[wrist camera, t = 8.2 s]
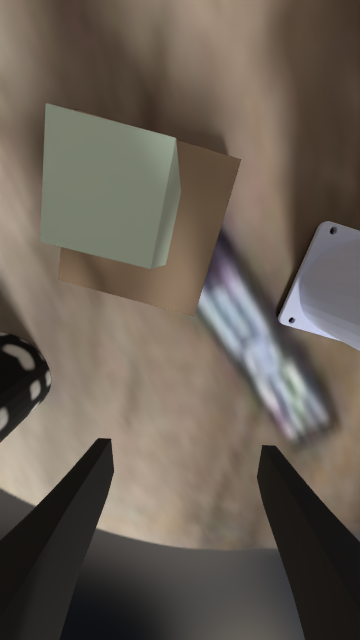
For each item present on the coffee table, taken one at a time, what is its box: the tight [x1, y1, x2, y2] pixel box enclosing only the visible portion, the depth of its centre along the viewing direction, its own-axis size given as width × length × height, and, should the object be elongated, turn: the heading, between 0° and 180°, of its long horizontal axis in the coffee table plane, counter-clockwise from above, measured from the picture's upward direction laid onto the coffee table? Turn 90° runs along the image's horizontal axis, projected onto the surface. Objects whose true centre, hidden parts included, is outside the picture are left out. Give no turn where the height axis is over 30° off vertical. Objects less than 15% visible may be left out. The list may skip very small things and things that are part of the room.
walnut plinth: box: [58, 109, 241, 316], centre depth 15 cm, size 10×10×3 cm
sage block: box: [40, 103, 181, 269], centre depth 11 cm, size 4×4×6 cm
